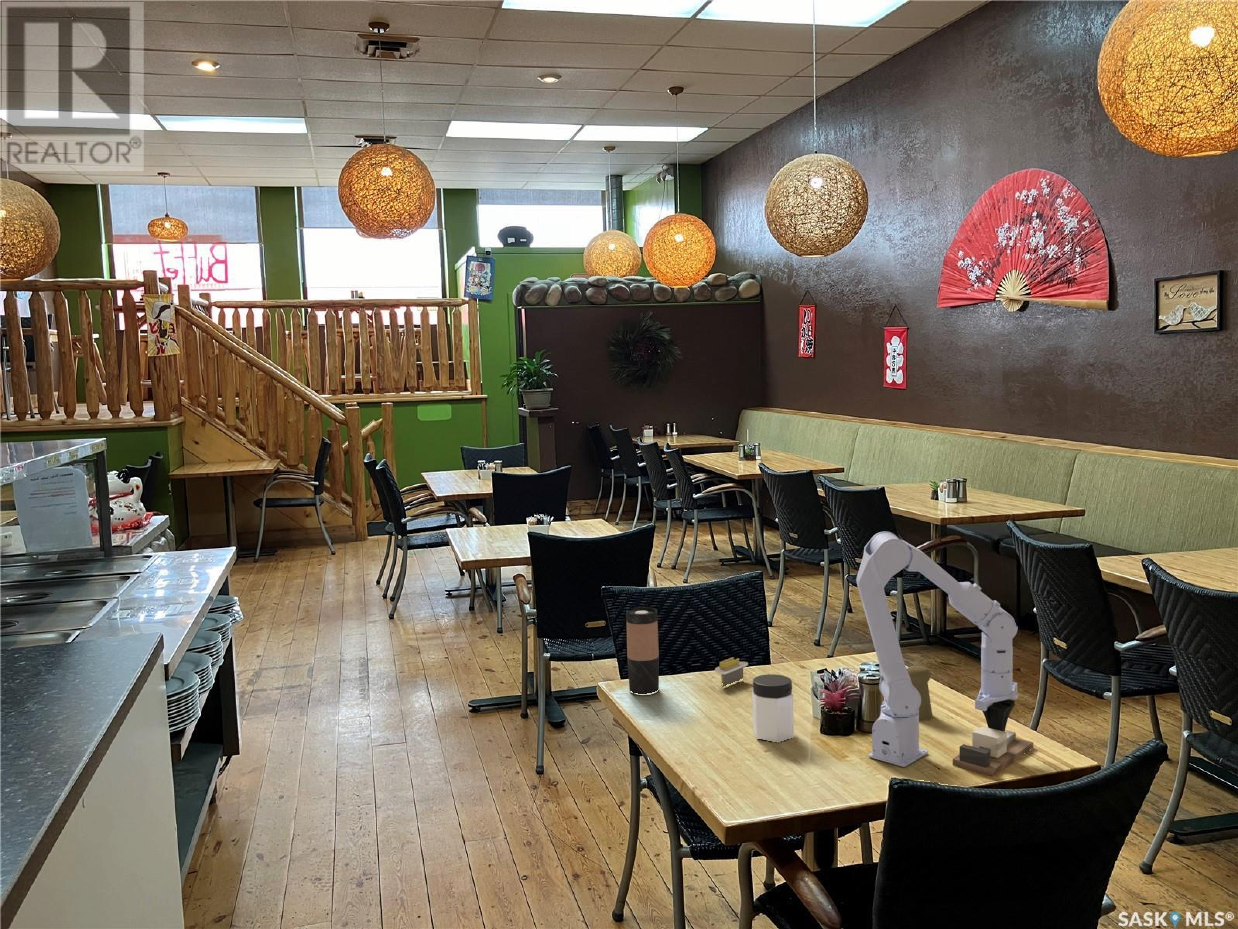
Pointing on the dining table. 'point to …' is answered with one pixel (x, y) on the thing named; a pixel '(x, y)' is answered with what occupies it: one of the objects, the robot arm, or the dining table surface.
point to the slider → (990, 740)
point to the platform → (731, 670)
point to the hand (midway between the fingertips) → (996, 736)
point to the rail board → (987, 764)
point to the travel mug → (642, 650)
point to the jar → (773, 708)
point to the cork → (921, 689)
